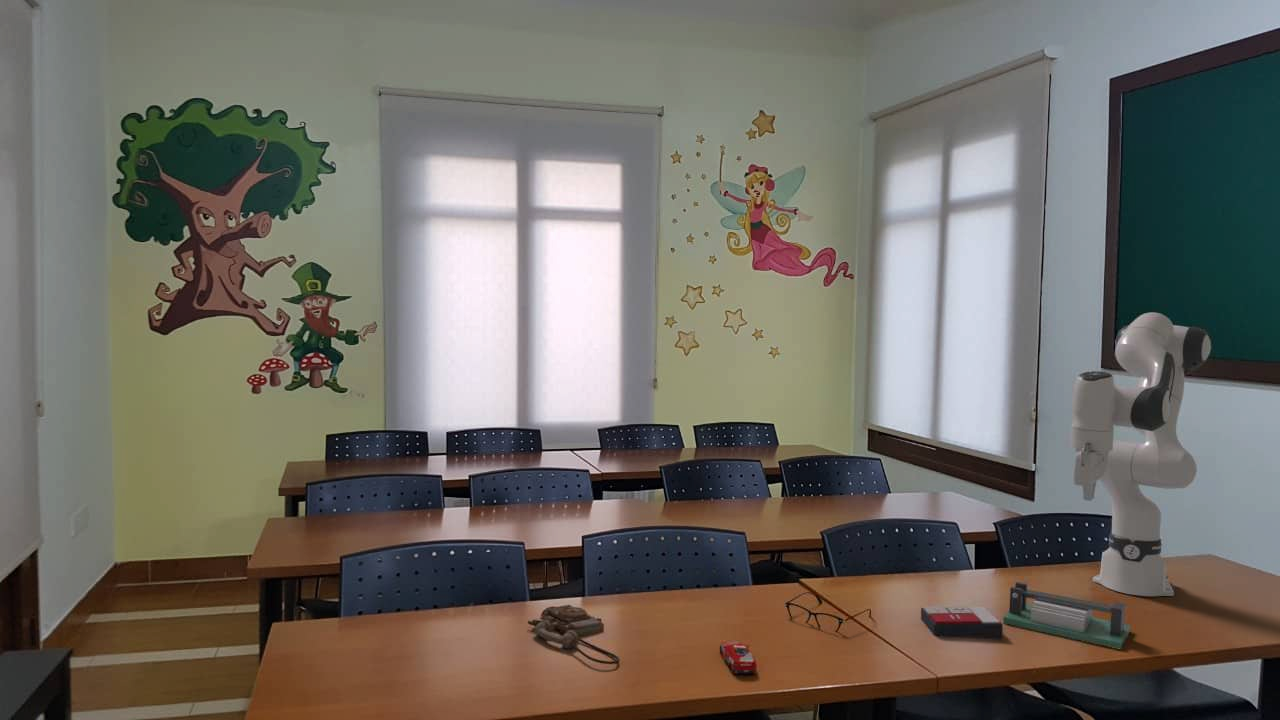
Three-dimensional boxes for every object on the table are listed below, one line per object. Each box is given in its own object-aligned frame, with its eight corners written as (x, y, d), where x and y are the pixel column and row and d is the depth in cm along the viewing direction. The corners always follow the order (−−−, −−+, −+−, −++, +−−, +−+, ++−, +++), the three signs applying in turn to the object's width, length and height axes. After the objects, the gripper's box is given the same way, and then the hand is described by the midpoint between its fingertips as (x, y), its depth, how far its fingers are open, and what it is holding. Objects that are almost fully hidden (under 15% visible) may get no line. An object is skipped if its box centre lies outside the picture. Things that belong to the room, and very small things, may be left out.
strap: (1017, 592, 203) (1018, 588, 203) (1112, 609, 191) (1112, 605, 191) (1014, 595, 201) (1014, 591, 200) (1110, 613, 188) (1110, 608, 188)
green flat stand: (1018, 607, 208) (1019, 577, 208) (1129, 631, 194) (1131, 599, 193) (1003, 623, 197) (1004, 591, 197) (1120, 650, 183) (1122, 615, 182)
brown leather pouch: (593, 675, 164) (595, 653, 164) (509, 624, 190) (510, 605, 190) (654, 660, 173) (655, 639, 173) (566, 613, 199) (567, 595, 199)
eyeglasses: (780, 617, 198) (781, 600, 198) (816, 602, 210) (816, 586, 210) (843, 637, 187) (844, 619, 187) (877, 619, 199) (878, 602, 199)
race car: (717, 651, 177) (717, 632, 177) (742, 651, 178) (743, 632, 178) (731, 678, 164) (732, 657, 164) (758, 677, 165) (759, 657, 165)
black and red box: (920, 604, 199) (985, 603, 198) (920, 622, 199) (985, 621, 198) (934, 621, 188) (1003, 620, 187) (934, 640, 188) (1003, 639, 187)
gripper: (1099, 447, 188) (1095, 509, 189) (1113, 438, 204) (1110, 494, 205) (1067, 444, 192) (1064, 504, 193) (1084, 435, 208) (1081, 490, 209)
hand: (1088, 499), depth 199 cm, fingers closed
